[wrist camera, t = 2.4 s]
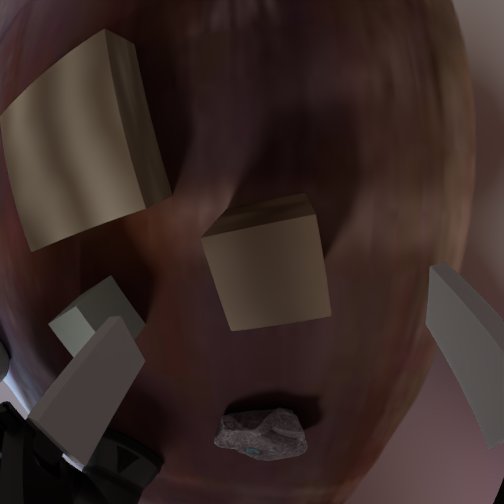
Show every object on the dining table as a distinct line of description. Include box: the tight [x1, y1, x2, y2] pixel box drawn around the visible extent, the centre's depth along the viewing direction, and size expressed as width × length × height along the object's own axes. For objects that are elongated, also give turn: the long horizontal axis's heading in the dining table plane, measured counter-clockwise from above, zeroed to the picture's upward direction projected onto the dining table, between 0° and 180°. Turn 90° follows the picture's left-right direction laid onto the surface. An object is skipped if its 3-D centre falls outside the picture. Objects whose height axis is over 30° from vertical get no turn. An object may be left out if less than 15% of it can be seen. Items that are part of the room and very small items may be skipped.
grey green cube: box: [49, 276, 145, 357], centre depth 23 cm, size 6×6×6 cm
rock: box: [214, 407, 307, 461], centre depth 28 cm, size 8×11×5 cm
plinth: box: [0, 28, 173, 252], centre depth 18 cm, size 14×14×5 cm
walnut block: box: [201, 193, 331, 331], centre depth 18 cm, size 6×6×7 cm
